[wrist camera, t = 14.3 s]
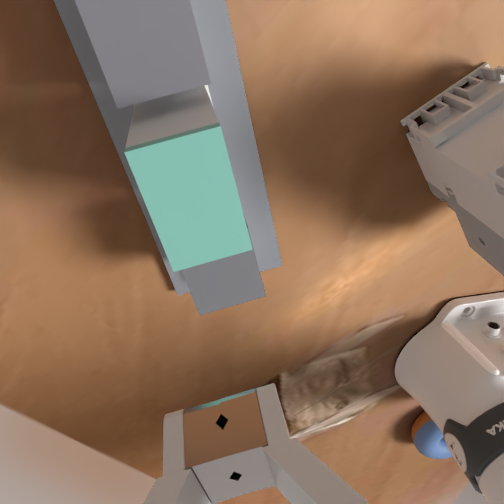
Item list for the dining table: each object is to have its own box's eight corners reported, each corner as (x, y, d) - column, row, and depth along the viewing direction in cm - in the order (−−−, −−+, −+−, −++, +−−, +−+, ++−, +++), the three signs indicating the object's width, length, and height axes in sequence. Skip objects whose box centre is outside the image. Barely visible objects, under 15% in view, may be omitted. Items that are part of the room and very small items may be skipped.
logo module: (202, 81, 27) (220, 126, 19) (228, 177, 31) (252, 249, 23) (136, 99, 27) (124, 152, 19) (170, 194, 31) (173, 272, 23)
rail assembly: (195, -135, 23) (208, -184, 16) (280, 260, 39) (305, 320, 32) (18, -90, 23) (-44, -121, 16) (177, 290, 39) (180, 356, 32)
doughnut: (408, 450, 62) (427, 478, 58) (402, 409, 57) (422, 437, 53) (467, 423, 63) (489, 449, 59) (466, 381, 58) (491, 406, 54)
